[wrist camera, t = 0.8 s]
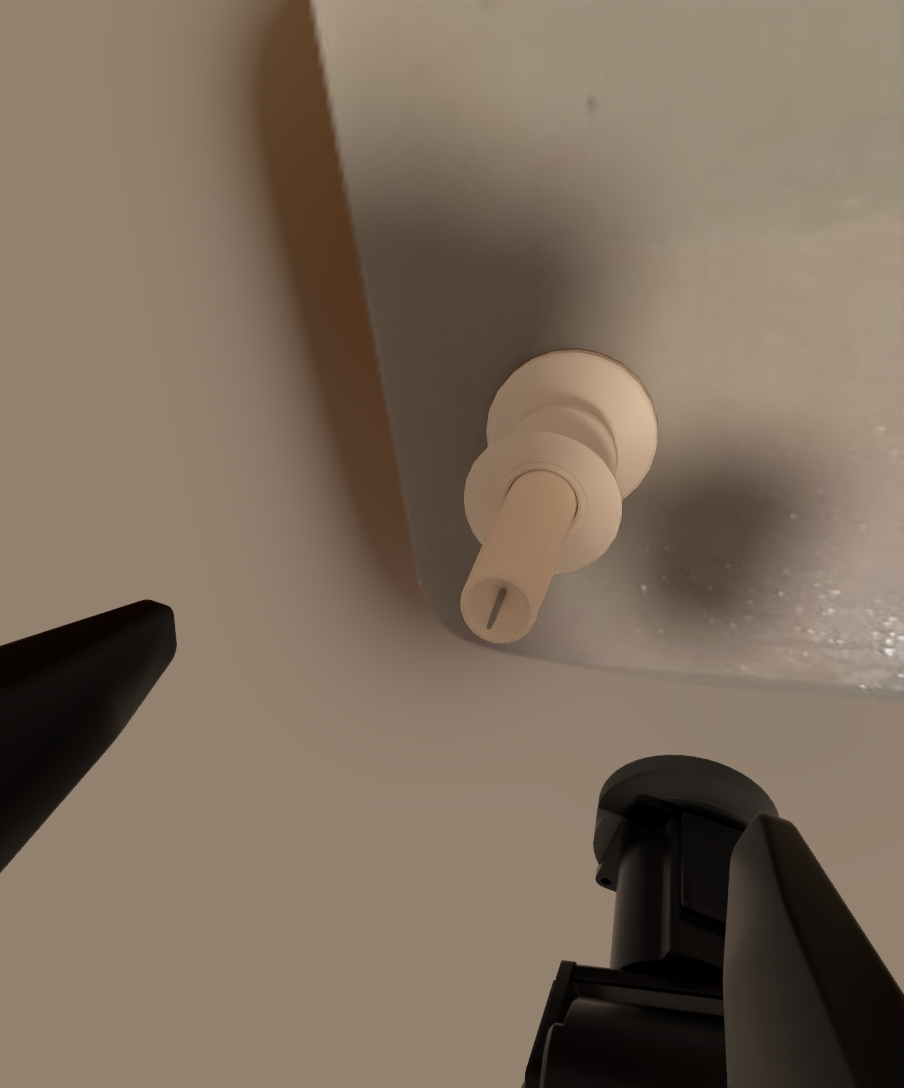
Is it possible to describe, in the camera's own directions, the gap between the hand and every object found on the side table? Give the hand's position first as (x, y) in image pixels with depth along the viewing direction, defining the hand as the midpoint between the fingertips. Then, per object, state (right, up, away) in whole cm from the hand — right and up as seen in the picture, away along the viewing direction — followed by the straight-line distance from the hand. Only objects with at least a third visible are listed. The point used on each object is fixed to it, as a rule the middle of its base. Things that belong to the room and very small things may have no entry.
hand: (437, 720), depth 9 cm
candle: (+4, +6, +11) cm, 13 cm away
